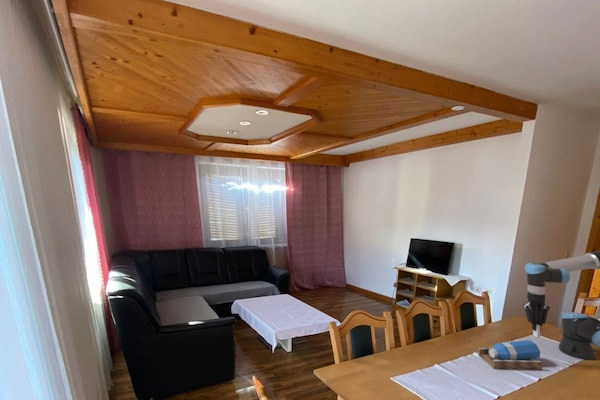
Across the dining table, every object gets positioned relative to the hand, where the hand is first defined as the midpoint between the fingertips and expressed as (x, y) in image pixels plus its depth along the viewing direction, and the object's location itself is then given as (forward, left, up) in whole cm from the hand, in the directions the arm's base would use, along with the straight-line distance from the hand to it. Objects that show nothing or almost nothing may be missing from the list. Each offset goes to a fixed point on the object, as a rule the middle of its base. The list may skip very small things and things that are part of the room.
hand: (536, 336), depth 151 cm
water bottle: (+1, -2, -8) cm, 8 cm away
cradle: (+15, 0, -15) cm, 21 cm away
